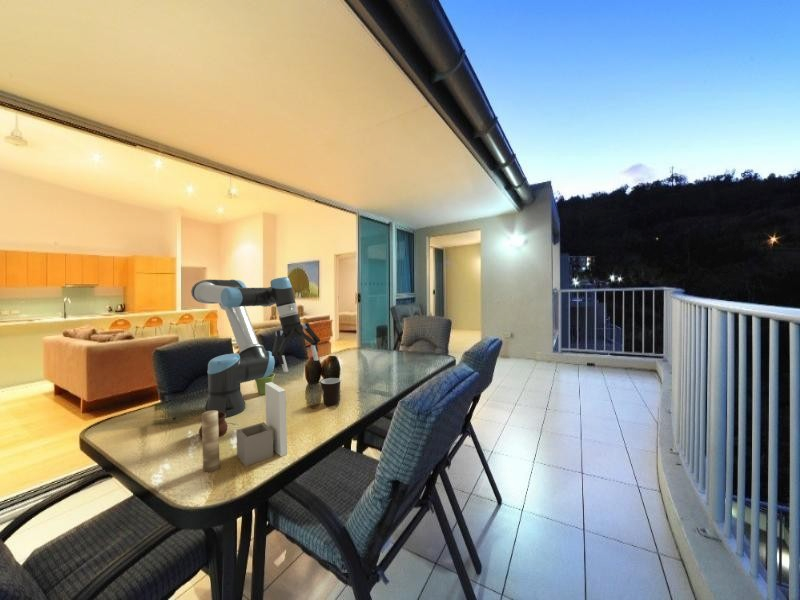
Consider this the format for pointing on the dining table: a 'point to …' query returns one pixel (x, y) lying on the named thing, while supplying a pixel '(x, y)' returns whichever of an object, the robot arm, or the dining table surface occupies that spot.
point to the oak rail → (210, 441)
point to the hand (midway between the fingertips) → (301, 365)
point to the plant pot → (263, 383)
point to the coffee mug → (330, 391)
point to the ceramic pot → (219, 424)
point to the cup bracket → (265, 430)
